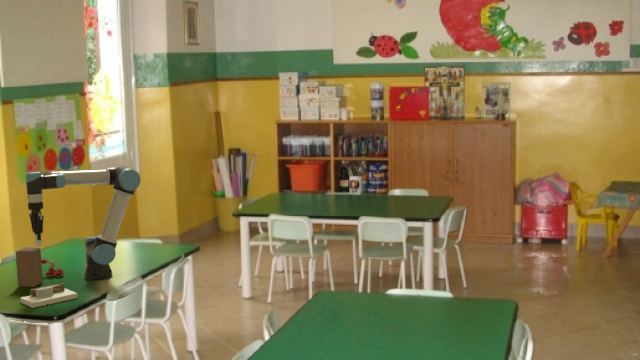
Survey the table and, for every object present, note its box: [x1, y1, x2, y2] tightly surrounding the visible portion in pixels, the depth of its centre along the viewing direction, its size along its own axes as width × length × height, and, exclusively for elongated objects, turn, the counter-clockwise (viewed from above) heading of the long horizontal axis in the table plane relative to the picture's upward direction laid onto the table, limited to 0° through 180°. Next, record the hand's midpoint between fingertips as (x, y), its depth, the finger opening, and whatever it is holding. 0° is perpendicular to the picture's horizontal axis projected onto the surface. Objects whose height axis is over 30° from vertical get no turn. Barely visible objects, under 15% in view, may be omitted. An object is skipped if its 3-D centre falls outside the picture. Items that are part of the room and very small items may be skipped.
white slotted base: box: [20, 286, 79, 309], centre depth 436 cm, size 24×14×6 cm, turn 131°
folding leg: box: [29, 282, 65, 296], centre depth 441 cm, size 17×3×3 cm, turn 128°
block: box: [15, 246, 44, 288], centre depth 467 cm, size 10×10×20 cm
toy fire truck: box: [41, 258, 65, 278], centre depth 486 cm, size 3×14×10 cm, turn 71°
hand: (38, 245), depth 452 cm, fingers closed
